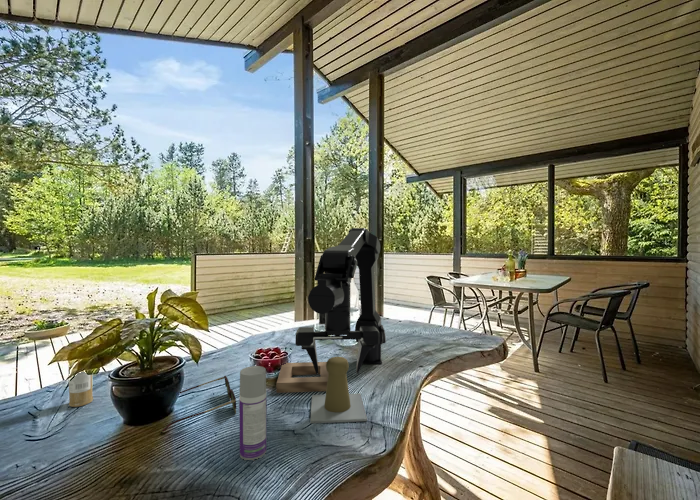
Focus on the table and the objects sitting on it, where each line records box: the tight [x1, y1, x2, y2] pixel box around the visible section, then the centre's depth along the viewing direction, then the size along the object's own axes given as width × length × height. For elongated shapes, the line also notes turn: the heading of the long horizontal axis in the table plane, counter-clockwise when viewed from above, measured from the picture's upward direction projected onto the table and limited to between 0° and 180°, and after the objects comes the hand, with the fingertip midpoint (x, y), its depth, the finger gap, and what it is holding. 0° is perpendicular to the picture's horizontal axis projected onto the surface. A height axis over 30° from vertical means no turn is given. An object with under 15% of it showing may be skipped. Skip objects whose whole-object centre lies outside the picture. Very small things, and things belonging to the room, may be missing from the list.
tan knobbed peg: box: [325, 356, 351, 412], centre depth 77 cm, size 6×6×11 cm
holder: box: [275, 361, 329, 394], centre depth 92 cm, size 14×14×2 cm
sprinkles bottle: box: [68, 366, 94, 408], centre depth 79 cm, size 5×5×13 cm
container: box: [238, 365, 268, 461], centre depth 61 cm, size 5×5×15 cm
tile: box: [310, 392, 368, 424], centre depth 77 cm, size 12×12×1 cm
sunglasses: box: [161, 375, 237, 432], centre depth 76 cm, size 14×15×5 cm
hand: (337, 373), depth 77 cm, fingers open, 9 cm apart
